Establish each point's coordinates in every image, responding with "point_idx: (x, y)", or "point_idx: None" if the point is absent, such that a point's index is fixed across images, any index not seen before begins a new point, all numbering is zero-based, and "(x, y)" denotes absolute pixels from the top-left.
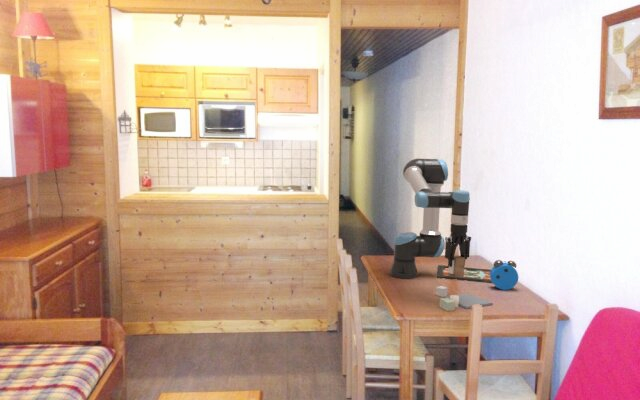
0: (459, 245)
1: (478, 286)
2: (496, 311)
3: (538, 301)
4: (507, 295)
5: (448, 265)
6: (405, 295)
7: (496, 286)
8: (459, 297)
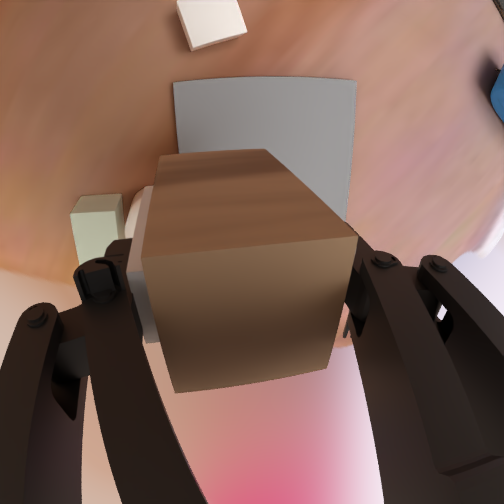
0: (426, 468)
1: (462, 23)
2: None
3: (473, 236)
4: (465, 156)
5: (110, 252)
6: (13, 8)
7: (491, 93)
8: (255, 121)
